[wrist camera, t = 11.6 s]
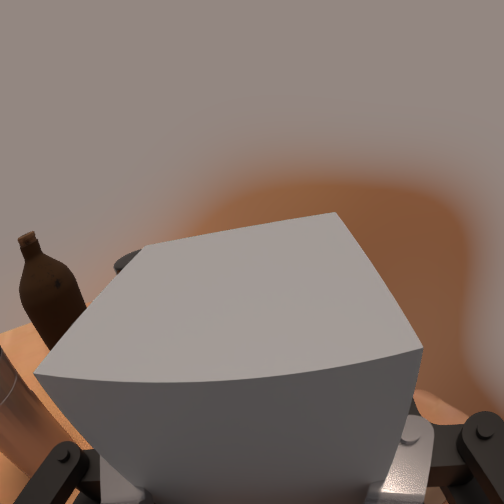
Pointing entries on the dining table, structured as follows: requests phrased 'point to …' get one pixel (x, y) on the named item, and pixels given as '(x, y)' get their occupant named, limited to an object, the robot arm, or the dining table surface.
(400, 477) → the robot arm
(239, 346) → the grey block
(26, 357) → the dining table surface
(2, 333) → the dining table surface
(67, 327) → the olive oil
